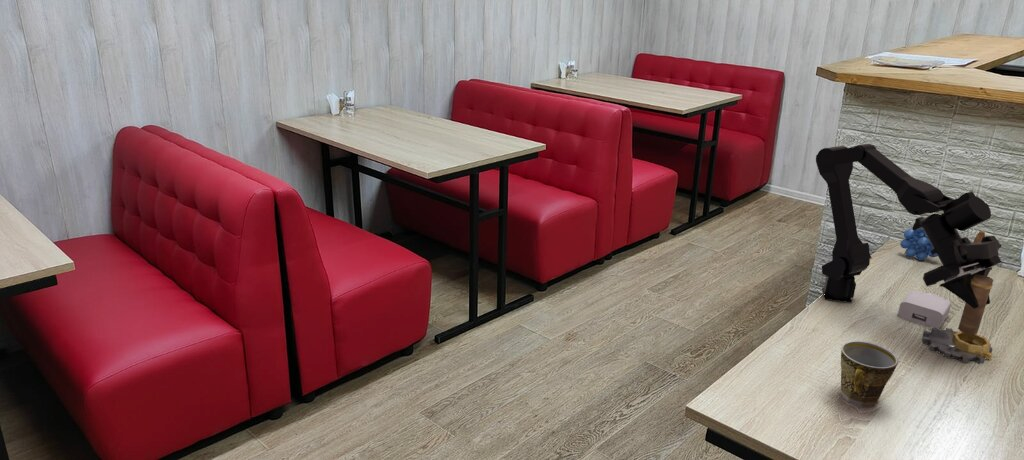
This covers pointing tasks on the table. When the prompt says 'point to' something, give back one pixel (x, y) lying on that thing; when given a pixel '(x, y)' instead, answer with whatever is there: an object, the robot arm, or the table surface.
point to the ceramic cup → (865, 372)
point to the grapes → (917, 244)
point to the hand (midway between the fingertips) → (982, 306)
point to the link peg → (973, 316)
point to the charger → (924, 309)
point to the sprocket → (958, 345)
